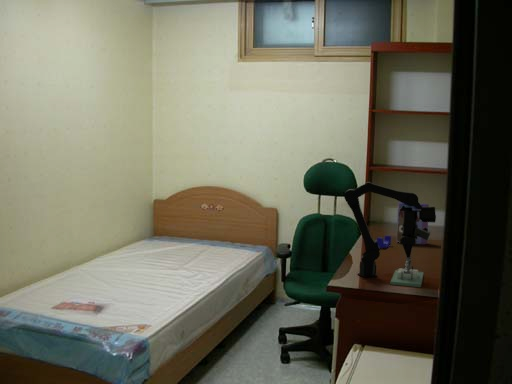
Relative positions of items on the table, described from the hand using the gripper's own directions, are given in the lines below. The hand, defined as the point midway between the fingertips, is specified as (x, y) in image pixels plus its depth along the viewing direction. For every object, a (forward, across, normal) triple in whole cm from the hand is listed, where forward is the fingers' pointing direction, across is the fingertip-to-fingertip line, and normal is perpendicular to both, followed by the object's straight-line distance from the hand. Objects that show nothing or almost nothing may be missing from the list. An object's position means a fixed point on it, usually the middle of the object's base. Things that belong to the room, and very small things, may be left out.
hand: (408, 257), depth 231 cm
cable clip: (+10, +76, +18) cm, 78 cm away
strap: (+3, -3, 0) cm, 4 cm away
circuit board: (+9, -2, 0) cm, 9 cm away
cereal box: (+9, +96, +4) cm, 97 cm away
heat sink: (+8, -2, 0) cm, 8 cm away
